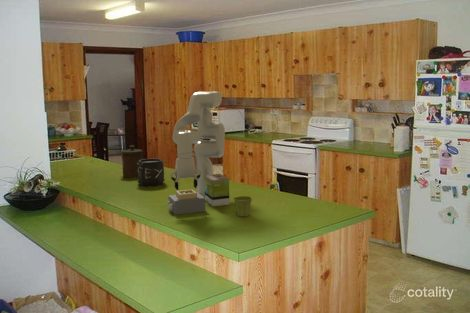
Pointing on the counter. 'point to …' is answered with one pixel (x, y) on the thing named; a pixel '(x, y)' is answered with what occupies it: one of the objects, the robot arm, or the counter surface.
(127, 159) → the wooden container
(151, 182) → the black lettered box
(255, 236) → the counter surface
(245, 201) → the plant pot
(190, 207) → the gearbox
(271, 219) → the counter surface
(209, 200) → the tea box
